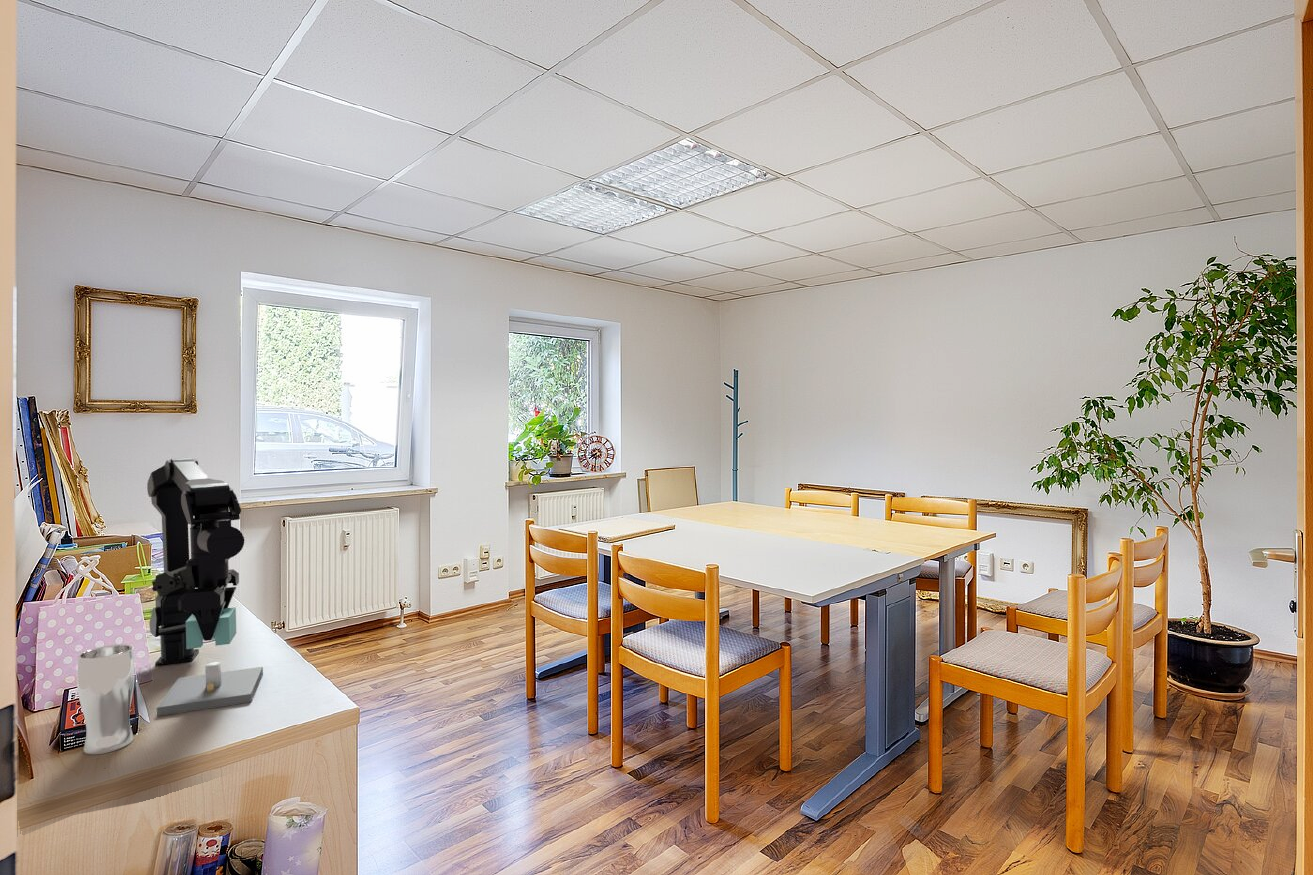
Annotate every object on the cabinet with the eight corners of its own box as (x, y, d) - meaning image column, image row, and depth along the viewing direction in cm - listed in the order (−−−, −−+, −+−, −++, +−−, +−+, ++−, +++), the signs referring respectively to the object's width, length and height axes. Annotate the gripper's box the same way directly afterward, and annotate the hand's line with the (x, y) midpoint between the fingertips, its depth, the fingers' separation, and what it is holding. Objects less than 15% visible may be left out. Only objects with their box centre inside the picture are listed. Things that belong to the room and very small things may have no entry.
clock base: (178, 685, 127) (177, 657, 127) (262, 674, 132) (262, 646, 132) (157, 716, 114) (155, 684, 114) (251, 701, 120) (250, 671, 119)
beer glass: (90, 760, 99) (86, 662, 99) (72, 748, 103) (68, 653, 103) (144, 741, 105) (141, 648, 105) (126, 730, 109) (123, 640, 108)
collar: (236, 632, 127) (235, 607, 127) (229, 643, 121) (228, 617, 121) (195, 637, 125) (194, 611, 124) (186, 649, 119) (185, 621, 118)
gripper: (171, 545, 128) (173, 625, 128) (140, 566, 111) (143, 658, 111) (238, 540, 132) (240, 618, 133) (218, 559, 115) (221, 648, 116)
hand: (212, 634), depth 123 cm, fingers closed on collar, 7 cm apart
